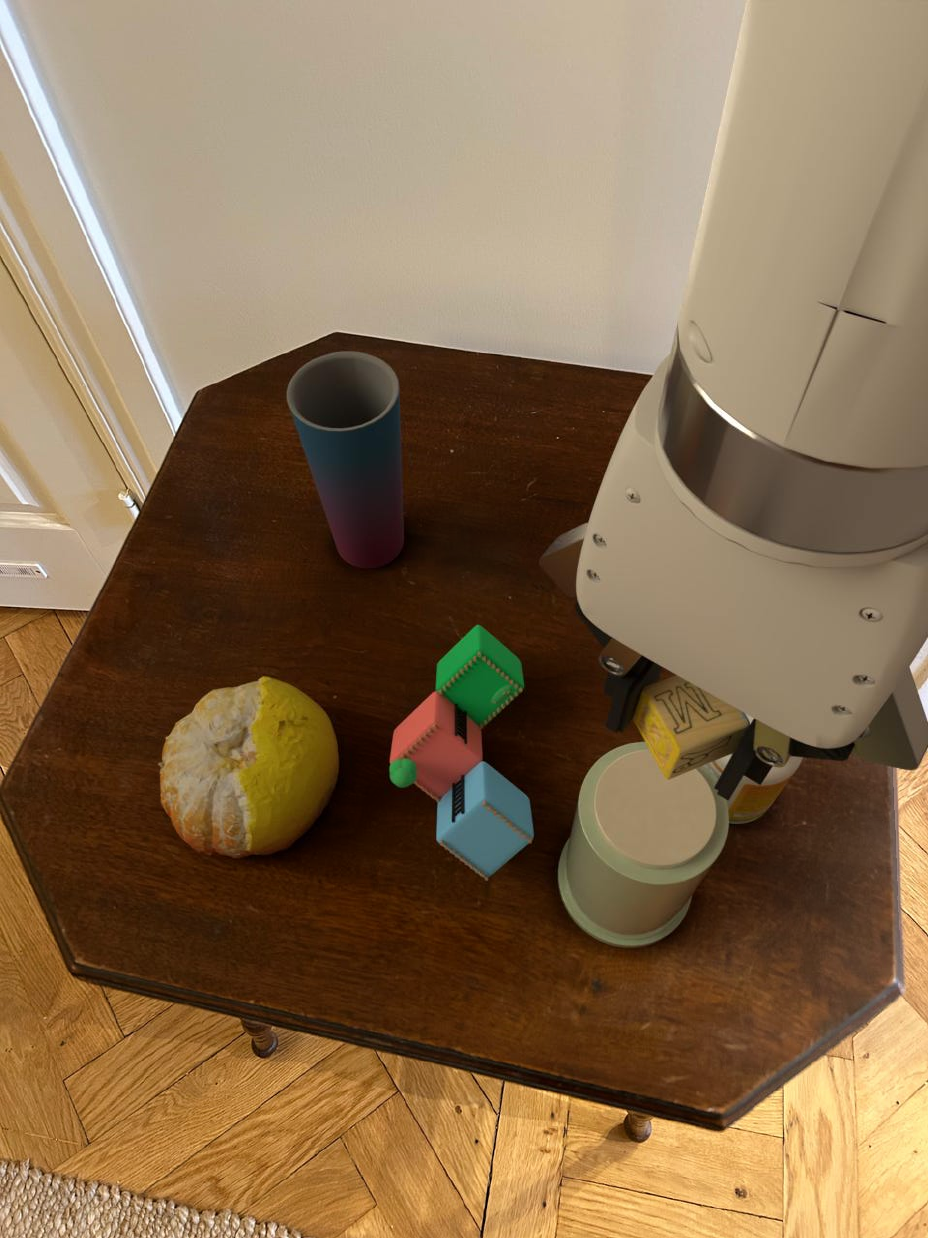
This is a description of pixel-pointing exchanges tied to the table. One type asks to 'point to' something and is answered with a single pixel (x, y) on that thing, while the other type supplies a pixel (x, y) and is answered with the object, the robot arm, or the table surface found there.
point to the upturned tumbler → (639, 847)
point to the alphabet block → (687, 725)
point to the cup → (353, 451)
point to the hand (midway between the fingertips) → (684, 734)
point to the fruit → (249, 769)
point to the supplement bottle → (754, 789)
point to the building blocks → (466, 754)
